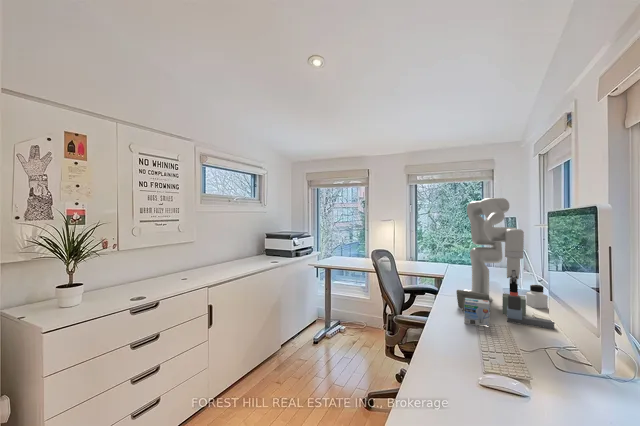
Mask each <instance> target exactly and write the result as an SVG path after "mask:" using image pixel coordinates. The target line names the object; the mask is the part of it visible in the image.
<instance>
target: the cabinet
mask: <svg viewBox="0 0 640 426" xmlns="http://www.w3.org/2000/svg"><path fill="white" fill-rule="evenodd" d="M508 295H510V293H502V315H506V316H507V306H508ZM518 297H521V308H522V316H527V304H526V295H519V294H518Z"/></svg>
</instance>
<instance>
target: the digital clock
mask: <svg viewBox="0 0 640 426" xmlns="http://www.w3.org/2000/svg"><path fill="white" fill-rule="evenodd" d="M464 290H465V289H457V290H456V301H457V307H458V308H460V309H461V311H462V312H464V305H465V298H470V299H478V300H487V301H489V303H490V304H491V301H490V299H489V296H490V294H489V295H488V294H483V293H477V292H471V291H470V290H468V291H464ZM491 310H492V309H490V312H491Z"/></svg>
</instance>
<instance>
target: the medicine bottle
mask: <svg viewBox="0 0 640 426" xmlns="http://www.w3.org/2000/svg"><path fill="white" fill-rule="evenodd" d="M529 290H530V291H527V292H526V293H525V297H526V306H529V307H532V308H534V309H548V307H549V306H548V304H549V303H548V301H549V300H548V297H549V296H548V295H547V294H544V286H543V285H540V284H531V285H530V286H529Z"/></svg>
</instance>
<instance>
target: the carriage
mask: <svg viewBox="0 0 640 426" xmlns="http://www.w3.org/2000/svg"><path fill="white" fill-rule="evenodd" d="M507 318H512V319H519V320H522V308H521V297H518V296H510V295H508V306H507V315H506V319H507Z"/></svg>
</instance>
